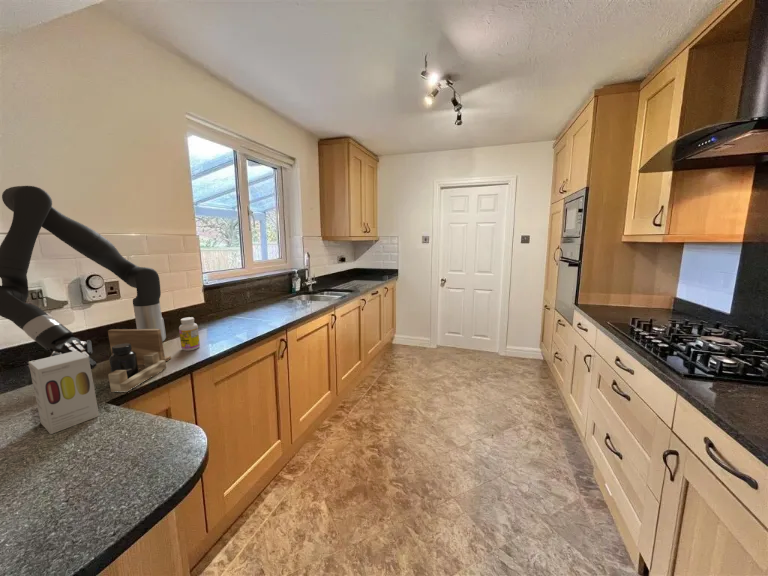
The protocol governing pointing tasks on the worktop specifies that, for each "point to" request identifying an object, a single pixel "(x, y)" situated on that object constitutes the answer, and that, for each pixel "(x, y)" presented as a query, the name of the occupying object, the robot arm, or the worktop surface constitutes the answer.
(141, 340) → the oak screen
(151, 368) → the stop bay
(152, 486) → the worktop surface
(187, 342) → the supplement bottle
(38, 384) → the supplement box
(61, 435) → the worktop surface
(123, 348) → the supplement bottle
